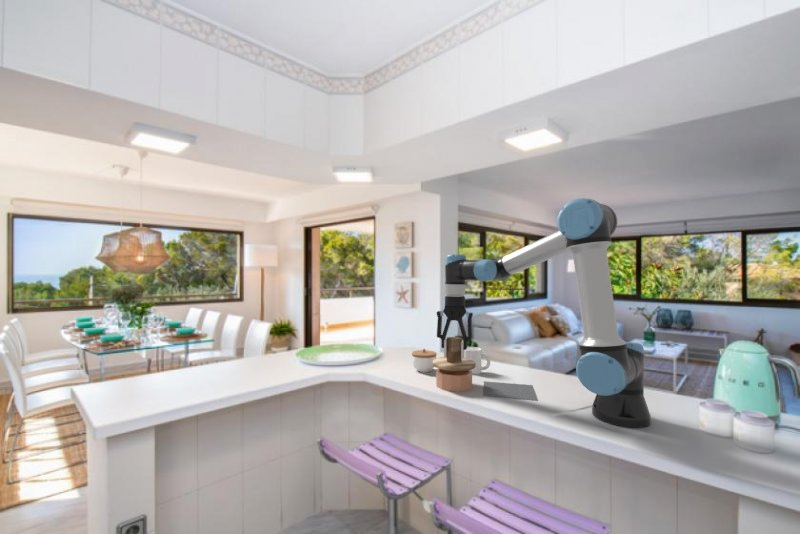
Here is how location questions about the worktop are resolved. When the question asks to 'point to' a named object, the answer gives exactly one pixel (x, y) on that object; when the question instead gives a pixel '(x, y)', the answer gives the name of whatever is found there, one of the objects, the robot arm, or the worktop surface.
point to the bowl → (453, 380)
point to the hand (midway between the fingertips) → (454, 357)
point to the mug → (476, 358)
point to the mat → (509, 391)
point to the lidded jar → (423, 360)
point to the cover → (454, 357)
